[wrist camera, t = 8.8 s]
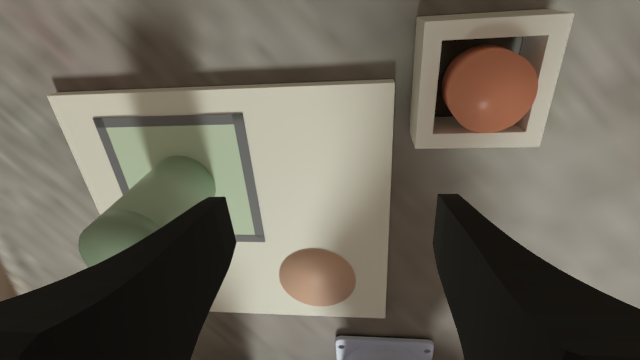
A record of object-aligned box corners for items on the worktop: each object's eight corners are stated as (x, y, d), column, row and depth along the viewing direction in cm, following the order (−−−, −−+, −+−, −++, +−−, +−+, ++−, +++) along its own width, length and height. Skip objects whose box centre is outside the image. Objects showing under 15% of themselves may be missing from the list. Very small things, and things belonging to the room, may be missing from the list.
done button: (511, 117, 18) (527, 132, 16) (437, 119, 18) (446, 133, 16) (527, 42, 16) (547, 49, 14) (445, 45, 16) (455, 53, 15)
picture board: (384, 310, 28) (385, 319, 27) (147, 301, 30) (141, 309, 29) (393, 79, 19) (395, 83, 18) (57, 92, 21) (45, 96, 20)
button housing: (519, 128, 19) (539, 146, 17) (409, 131, 20) (415, 149, 18) (546, 8, 17) (574, 13, 14) (416, 16, 17) (424, 21, 15)
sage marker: (221, 209, 23) (173, 288, 17) (165, 210, 24) (98, 288, 18) (207, 154, 21) (147, 221, 15) (145, 157, 22) (63, 223, 16)
